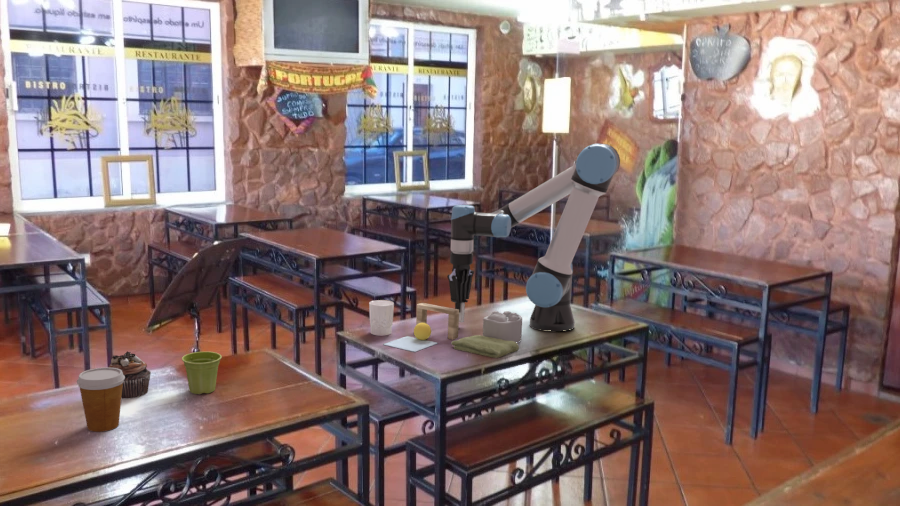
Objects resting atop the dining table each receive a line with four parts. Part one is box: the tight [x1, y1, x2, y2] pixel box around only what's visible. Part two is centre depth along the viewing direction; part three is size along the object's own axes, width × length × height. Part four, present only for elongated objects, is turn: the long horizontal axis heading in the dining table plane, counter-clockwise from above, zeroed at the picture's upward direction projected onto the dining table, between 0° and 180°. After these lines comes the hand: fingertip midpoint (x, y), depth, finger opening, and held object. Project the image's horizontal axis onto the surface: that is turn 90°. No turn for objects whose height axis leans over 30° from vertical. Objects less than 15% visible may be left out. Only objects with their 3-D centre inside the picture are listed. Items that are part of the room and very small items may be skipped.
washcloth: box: [451, 334, 520, 359], centre depth 237 cm, size 13×18×3 cm
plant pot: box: [181, 351, 223, 395], centre depth 194 cm, size 9×9×9 cm
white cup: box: [368, 299, 395, 337], centre depth 251 cm, size 8×8×10 cm
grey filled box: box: [482, 310, 523, 343], centre depth 248 cm, size 10×13×9 cm
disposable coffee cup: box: [76, 366, 125, 433], centre depth 169 cm, size 10×10×12 cm
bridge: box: [415, 302, 460, 341], centre depth 251 cm, size 3×14×9 cm, turn 56°
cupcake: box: [108, 351, 152, 400], centre depth 190 cm, size 10×10×10 cm
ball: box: [413, 323, 432, 340], centre depth 245 cm, size 6×6×6 cm
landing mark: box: [382, 335, 439, 353], centre depth 240 cm, size 12×12×1 cm
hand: (459, 321), depth 262 cm, fingers closed
